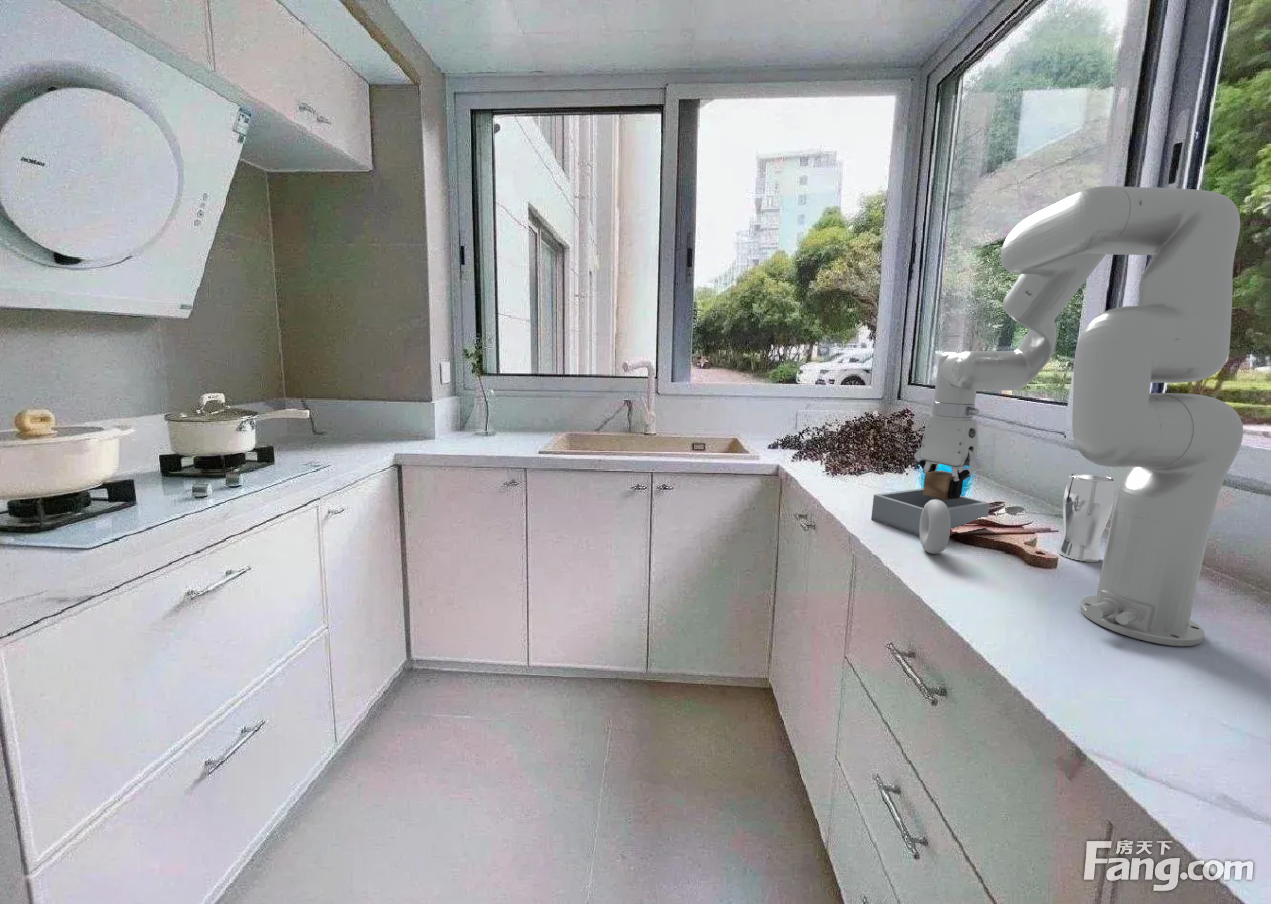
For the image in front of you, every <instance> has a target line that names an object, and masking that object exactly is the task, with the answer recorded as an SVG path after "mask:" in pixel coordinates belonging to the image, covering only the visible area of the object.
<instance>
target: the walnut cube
mask: <svg viewBox="0 0 1271 904" xmlns="http://www.w3.org/2000/svg"><path fill="white" fill-rule="evenodd" d="M924 480H925V483H924V482H923V488H924V491H923V495H926V496H930V497H933V498H937V499H940V500H944V501H945V500H951V499H949V498H948V492H949V485H950V480H953V477H952V472H950V471H945V470H936V471H933V472H926V475H925V474H924ZM956 499H958V498H956Z"/></svg>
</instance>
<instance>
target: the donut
mask: <svg viewBox="0 0 1271 904" xmlns="http://www.w3.org/2000/svg"><path fill="white" fill-rule="evenodd" d="M950 528H951V520H950V513H949V510H948V507H947V506H946V504H945V503H944V502H942V501H940V500H936V499H934V500H930V501H929V502H927V503H926V504H925V506H924V508H923V510H922V513H921V518H920V528H919V533H920V536H919V541H920V544H921V546H922V549H923V550H924V551H926V552H927V553H928V554H931V555H938V554H940V553H942V552H944V550H945V549H946V547H947V546H948V543H949V541H950V536H951V535H950Z"/></svg>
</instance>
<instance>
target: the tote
mask: <svg viewBox="0 0 1271 904" xmlns="http://www.w3.org/2000/svg"><path fill="white" fill-rule="evenodd" d="M923 491H924V487H923V488H915V489H908V490H900V491H899V490H898V491H894V492H893V491H891V492H885V493H876V494H873V499H872V508H871V516H870V517H871V520H873V521H875V522H878V523H880V524H883V525H886V526H889V527H892V528H895V529H898V530H901V531H903V532H906V533H908V534H912V535H915V536H917V537H920V533H919V528H920V518H921V513H922V510H923V508H921V507H924V506H925V504H926V503H927V502H929V501H930V500H934V499H936V500H940V499H937V498H933V497H930V496H926V495H923ZM940 501H942V502H944V503H945V504H946V506H947V507H948V510H949V513H950V520H951V528H955V527H958V526H961V525H964V524H967V523H969V522H971V521H974V520H976V519H978V518H981V517H988V516H989V513H990V505H991V503H990V502H989V501H984V500H980V499H975V498H973V497H972V498H971V497H968V496H965V495H962V494H961V495H960V498H958V499H951V500H945V501H944V500H940ZM988 518H989V517H988ZM951 528H950V529H951Z"/></svg>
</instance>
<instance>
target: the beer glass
mask: <svg viewBox="0 0 1271 904" xmlns="http://www.w3.org/2000/svg"><path fill="white" fill-rule="evenodd" d="M1067 478H1068V479H1067V482H1066V486H1065V490H1064V493H1063V500H1062V518H1063V535H1062V538H1061V541H1060V544H1059V545H1058V549H1057V554H1058V555H1060V554H1061V555H1063V556H1066V557H1068V558H1067V559H1069V558H1071V559H1070V560H1072V559H1075V560H1074V561H1076V560H1080V561H1079V562H1082V561H1086V562H1085V563H1098V562H1099V561H1100V558H1101V555H1100V545H1101V544H1100V542H1101V538H1102V536H1103V533H1104V530H1105V529H1106V527H1107V524H1108V521H1109V519H1110V516H1111V515H1112V514H1111V513H1112V512H1113V507H1114V503H1115V497H1116V494H1115V493H1116V482H1117V480H1116V478H1113V477H1110V476H1105V475H1100V474H1094V473H1087V472H1085V473H1083V472H1072V473H1069V474H1068V477H1067ZM1061 555H1060V556H1061ZM1063 556H1062V557H1063ZM1066 557H1065V558H1066Z"/></svg>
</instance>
